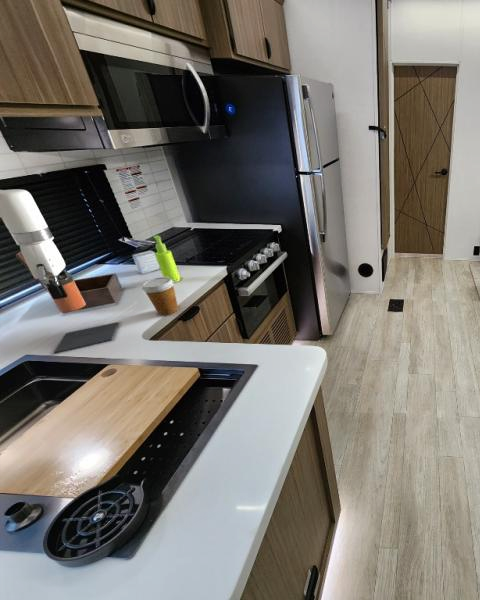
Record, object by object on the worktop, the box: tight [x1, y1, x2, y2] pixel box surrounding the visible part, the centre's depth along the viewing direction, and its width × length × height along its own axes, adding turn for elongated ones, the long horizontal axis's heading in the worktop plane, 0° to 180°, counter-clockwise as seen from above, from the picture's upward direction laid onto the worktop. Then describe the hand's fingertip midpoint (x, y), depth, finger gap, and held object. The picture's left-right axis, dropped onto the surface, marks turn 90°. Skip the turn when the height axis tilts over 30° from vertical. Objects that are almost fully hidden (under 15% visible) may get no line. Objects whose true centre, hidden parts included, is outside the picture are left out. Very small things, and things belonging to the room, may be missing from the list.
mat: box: [54, 321, 119, 354], centre depth 108 cm, size 14×12×1 cm
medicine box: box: [131, 250, 161, 275], centre depth 155 cm, size 8×4×9 cm, turn 144°
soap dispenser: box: [152, 235, 182, 283], centre depth 143 cm, size 6×7×20 cm
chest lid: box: [15, 251, 53, 293], centre depth 119 cm, size 16×16×1 cm
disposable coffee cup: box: [141, 276, 179, 316], centre depth 120 cm, size 10×10×12 cm
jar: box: [43, 273, 86, 313], centre depth 101 cm, size 7×7×10 cm
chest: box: [61, 272, 123, 314], centre depth 129 cm, size 16×16×7 cm
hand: (64, 292), depth 101 cm, fingers closed on jar, 6 cm apart
